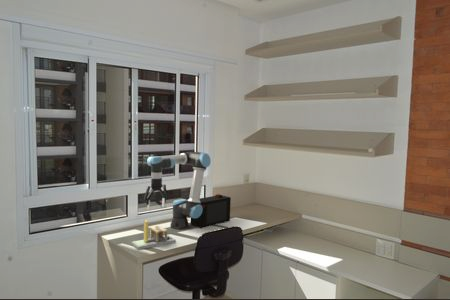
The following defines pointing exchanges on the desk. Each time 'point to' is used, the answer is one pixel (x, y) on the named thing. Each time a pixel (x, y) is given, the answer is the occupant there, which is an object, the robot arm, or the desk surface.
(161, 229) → the tunnel
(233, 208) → the desk surface
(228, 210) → the speaker
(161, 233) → the block
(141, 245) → the deck
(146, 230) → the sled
